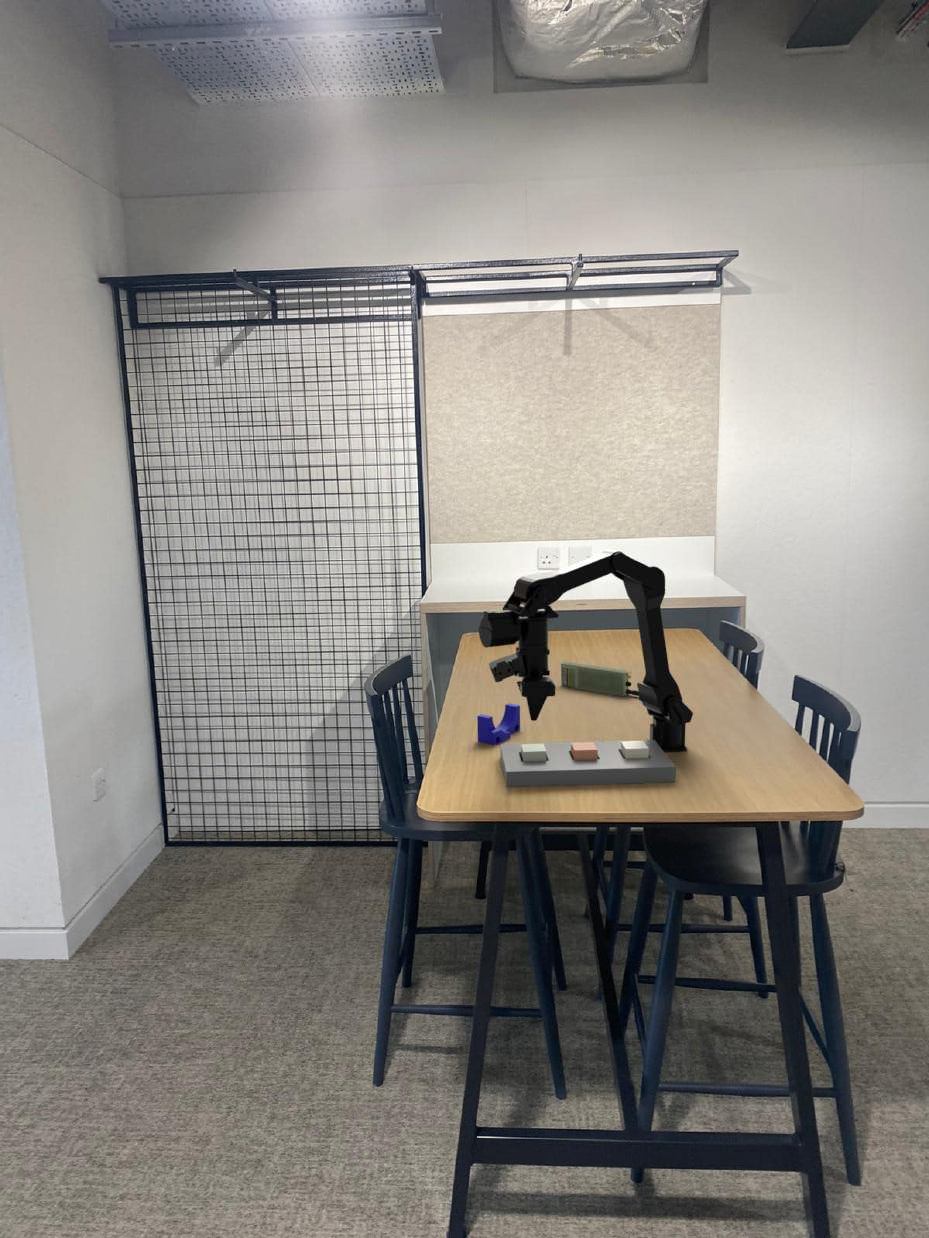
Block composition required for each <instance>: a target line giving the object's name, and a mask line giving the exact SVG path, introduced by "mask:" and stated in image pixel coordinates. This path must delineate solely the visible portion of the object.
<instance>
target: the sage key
mask: <svg viewBox="0 0 929 1238" xmlns="http://www.w3.org/2000/svg"><path fill="white" fill-rule="evenodd" d="M520 744H521V755H522V759H523V762H524V761H546V749H545V746H544V744H522V743H520Z"/></svg>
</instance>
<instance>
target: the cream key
mask: <svg viewBox="0 0 929 1238" xmlns="http://www.w3.org/2000/svg"><path fill="white" fill-rule="evenodd" d="M621 741H622V742H621V752H622V754H623V755H624V757H625V759H628V758H649V748H648V747H647V745H646V744H645V743H644V741H629V740H621Z"/></svg>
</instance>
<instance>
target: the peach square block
mask: <svg viewBox="0 0 929 1238" xmlns="http://www.w3.org/2000/svg"><path fill="white" fill-rule="evenodd" d="M585 742H586V743H571V754H572V756H573V758H574V760H593V759H598V750H597V748H596V746H595V744H594V742H593V741H585Z"/></svg>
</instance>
